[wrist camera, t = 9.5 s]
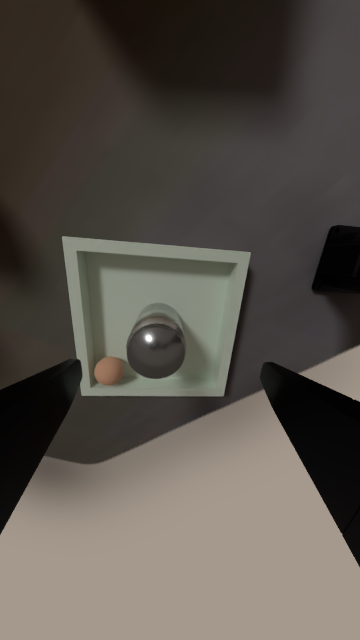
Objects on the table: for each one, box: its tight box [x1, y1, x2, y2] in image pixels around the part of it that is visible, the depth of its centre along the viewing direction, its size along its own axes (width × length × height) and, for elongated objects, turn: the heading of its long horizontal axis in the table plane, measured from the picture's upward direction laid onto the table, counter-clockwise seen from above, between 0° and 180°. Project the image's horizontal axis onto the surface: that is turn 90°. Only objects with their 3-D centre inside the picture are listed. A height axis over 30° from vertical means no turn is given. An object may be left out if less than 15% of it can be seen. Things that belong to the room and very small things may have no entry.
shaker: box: [126, 303, 186, 379], centre depth 17 cm, size 5×5×6 cm
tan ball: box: [94, 357, 124, 385], centre depth 20 cm, size 3×3×3 cm
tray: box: [62, 236, 251, 396], centre depth 19 cm, size 16×16×2 cm
